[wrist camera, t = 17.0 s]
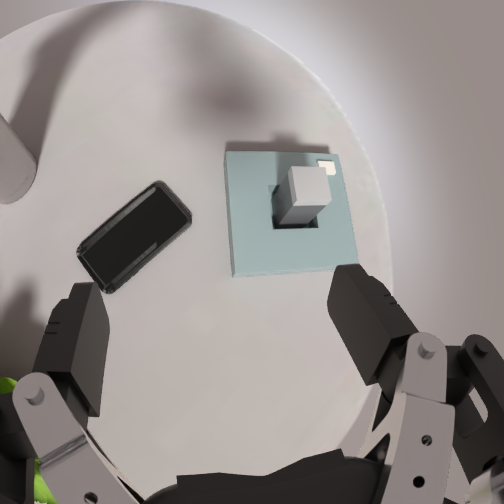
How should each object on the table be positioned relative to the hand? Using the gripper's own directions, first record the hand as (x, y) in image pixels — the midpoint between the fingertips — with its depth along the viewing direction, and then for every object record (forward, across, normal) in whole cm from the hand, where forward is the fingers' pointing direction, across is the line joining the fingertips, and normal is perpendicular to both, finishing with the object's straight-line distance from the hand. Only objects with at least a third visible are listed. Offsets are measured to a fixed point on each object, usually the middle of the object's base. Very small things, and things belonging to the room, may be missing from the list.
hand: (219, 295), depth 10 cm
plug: (+29, -12, +12) cm, 33 cm away
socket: (+29, -12, +12) cm, 34 cm away
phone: (+28, +8, +14) cm, 33 cm away
